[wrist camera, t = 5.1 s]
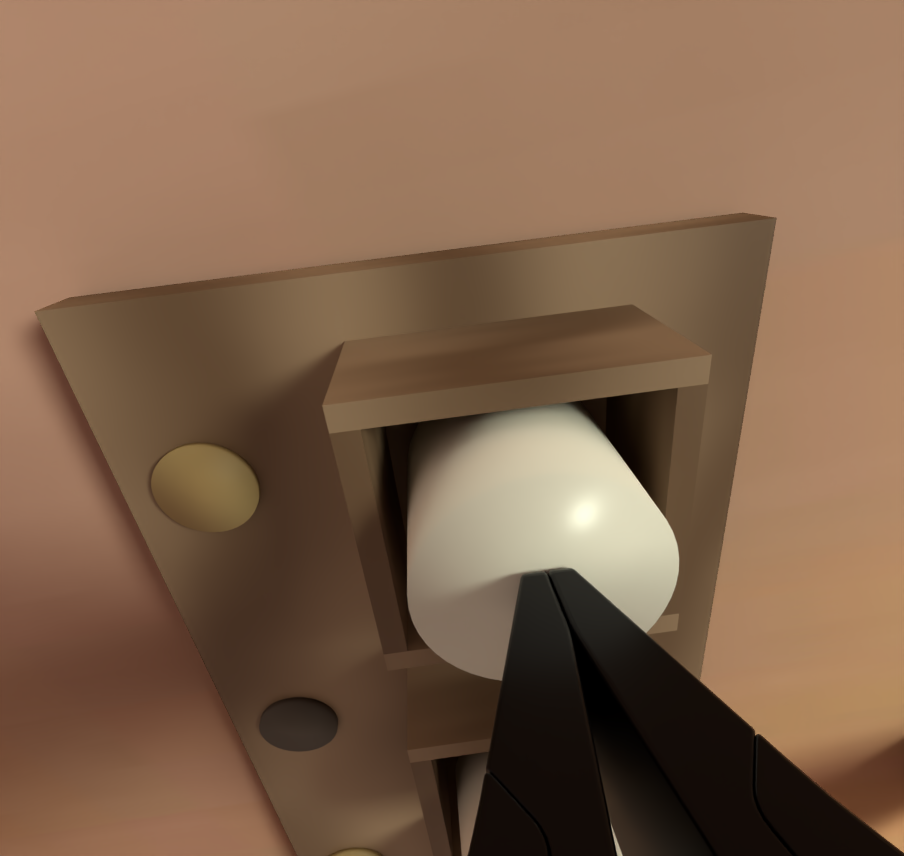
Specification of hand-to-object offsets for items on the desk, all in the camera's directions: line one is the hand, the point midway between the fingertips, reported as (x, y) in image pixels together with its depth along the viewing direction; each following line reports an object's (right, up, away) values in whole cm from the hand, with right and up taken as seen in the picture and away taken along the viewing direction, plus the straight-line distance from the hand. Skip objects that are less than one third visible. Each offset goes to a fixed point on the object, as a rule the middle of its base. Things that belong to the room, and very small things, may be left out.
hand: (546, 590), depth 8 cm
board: (-1, -5, +9) cm, 11 cm away
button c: (0, +2, +4) cm, 4 cm away
